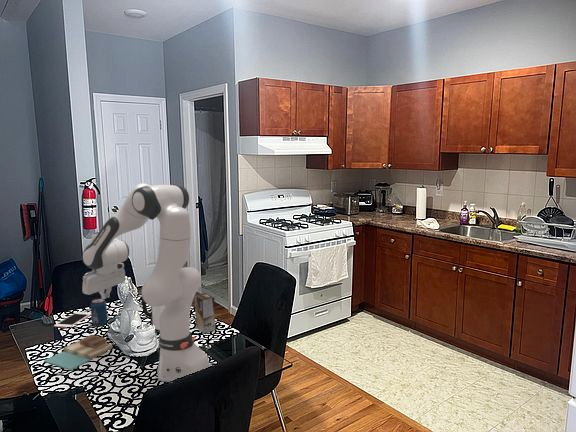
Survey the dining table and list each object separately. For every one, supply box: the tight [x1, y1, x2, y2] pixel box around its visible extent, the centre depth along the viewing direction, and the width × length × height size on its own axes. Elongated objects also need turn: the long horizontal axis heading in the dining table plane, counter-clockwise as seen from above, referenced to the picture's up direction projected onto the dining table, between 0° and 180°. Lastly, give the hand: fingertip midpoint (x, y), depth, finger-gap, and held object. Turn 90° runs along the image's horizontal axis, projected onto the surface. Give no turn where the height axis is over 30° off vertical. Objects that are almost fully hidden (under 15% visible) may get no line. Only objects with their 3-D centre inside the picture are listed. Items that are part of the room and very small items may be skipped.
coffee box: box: [194, 292, 216, 334], centre depth 200 cm, size 9×6×16 cm
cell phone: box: [53, 311, 91, 328], centre depth 212 cm, size 9×18×1 cm, turn 172°
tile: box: [79, 334, 107, 349], centre depth 181 cm, size 9×6×2 cm, turn 64°
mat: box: [43, 350, 91, 371], centre depth 170 cm, size 16×9×1 cm, turn 64°
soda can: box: [90, 298, 108, 327], centre depth 206 cm, size 7×7×12 cm
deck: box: [63, 340, 113, 361], centre depth 179 cm, size 16×11×2 cm
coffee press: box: [141, 296, 166, 331], centre depth 199 cm, size 17×16×30 cm
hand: (105, 298), depth 186 cm, fingers closed
